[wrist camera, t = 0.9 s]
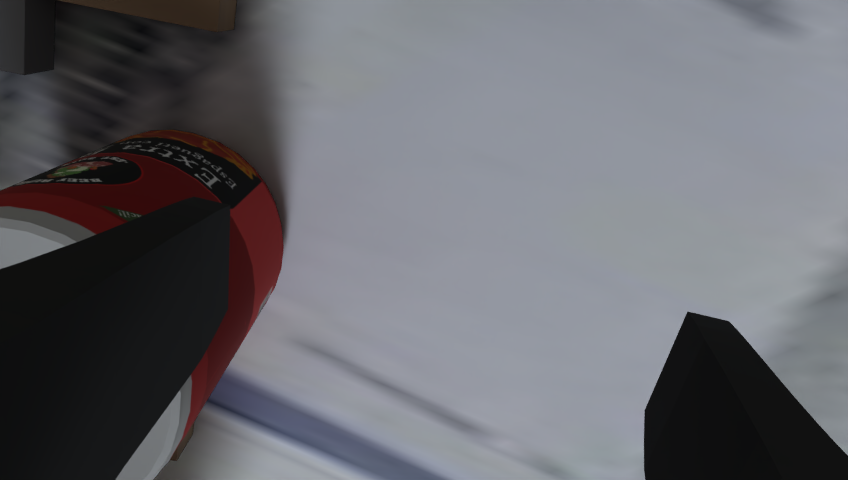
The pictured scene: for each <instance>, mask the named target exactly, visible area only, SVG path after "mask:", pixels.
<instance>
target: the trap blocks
mask: <svg viewBox="0 0 848 480" xmlns="http://www.w3.org/2000/svg"><path fill="white" fill-rule="evenodd" d="M54 32H55V0H0V70H1V71H6V72H12V73H17V74H22V75H27V74H32V73H37V72H43V71H48V70H53V69H54Z"/></svg>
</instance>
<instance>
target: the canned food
mask: <svg viewBox="0 0 848 480" xmlns="http://www.w3.org/2000/svg"><path fill="white" fill-rule="evenodd" d="M191 197H198V198H202V199H207V200H211V201H215V202H220V203H224V204H228V205H230V248H229V296H228V310H227V312H226V314H225V316H224V318H223V320H222V322H221V324H220V326H219V328H218V330H217V332H216V334H215V336H214V338H213V340H212V341H211V343H210V345H209V347H208V349H207V351H206V352H205V354H204V356H203V358H202V359H201V361H200V362H199V364H198V365H197V367H196V368H195V370H194V371H193V372H192V374H191V375H190V377H189V378H188V379H187V381H186V382H185V384H184V385H183V386H182V388H181V389H180V391H179V392H178V393H177V395H176V396H175V398H174V399H173V400H172V402H171V403H170V404H169V406H168V407H167V409H166V410H165V411H164V413H163V414H162V415H161V417H160V418H159V420H158V421H157V422H156V424H155V425H154V426H153V428H152V429H151V431H150V432H149V433H148V435H147V436H146V437H145V439H144V440H143V442H142V443H141V444H140V446H139V447H138V448H137V450H136V451H135V453H134V454H133V455H132V457H131V458H130V459H129V461H128V462H127V464H126V465H125V466H124V468H123V469H122V471H121V472H120V474H119V475H118V477H117V478H116V480H153V479H154V478H155V477H156V476H157V474H158V473H159V471H160V470H161V469H162V468H163V467H164V466H165V465H166V464H167V463H168V462H169V460H170V459H171V457H172V455H173V454H174V452H175V450H176V449H177V447H178V446H179V444H180V442H181V441H182V440H183V438H184V437H185V436H186V434H187V433H188V431H189V429H190V428H191V426H192V424H193V423H194V421H195V419H196V418H197V416H198V414H199V413H200V411H201V409H202V408H203V406H204V404H205V403H206V401H207V400H208V398H209V396H210V395H211V393H212V391H213V390H214V388H215V386H216V385H217V383H218V381H219V380H220V378H221V376H222V375H223V373H224V371H225V370H226V368H227V366H228V365H229V363H230V361H231V360H232V358H233V357H234V355H235V353H236V352H237V350H238V348H239V347H240V345H241V343H242V342H243V340H244V338H245V337H246V335H247V333H248V332H249V330H250V328H251V327H252V325H253V323H254V322H255V320H256V319H257V317H258V315H259V314H260V312H261V310H262V309H263V307H264V305H265V304H266V302H267V300H268V298H269V297H270V295H271V293H272V291H273V290H274V288H275V286H276V283H277V280H278V276H279V273H280V270H281V266H282V256H283V237H282V226H281V221H280V218H279V214H278V211H277V207H276V204H275V201H274V199H273V197H272V195H271V193H270V191H269V189H268V187H267V185H266V184H265V182H264V181H263V180H262V178H261V177H260V176H259V174H258V173H257V172H256V171H255V169H254V168H253V167H252V166H251V165H250V164H249V163H248V162H247V161H245V160H244V159H243V158H242V157H241V156H240V155H239V154H238V153H236V152H234V151H233V150H231V149H229V148H228V147H226V146H224V145H223V144H221V143H219V142H216V141H214V140H211V139H208V138H206V137H203V136H200V135H197V134H195V133H189V132H183V131H177V130H156V131H148V132H144V133H140V134H136V135H133V136H129V137H127V138H125V139H122V140H120V141H117V142H115V143H113V144H110V145H108V146H106V147H103V148H101V149H98V150H96V151H94V152H91V153H89V154H87V155H84V156H82V157H79V158H77V159H75V160H72V161H70V162H68V163H65V164H63V165H60V166H58V167H56V168H53V169H51V170H49V171H46V172H44V173H41V174H39V175H37V176H34V177H32V178H30V179H27V180H25V181H22V182H20V183H18V184H15V185H13V186H11V187H8V188H6V189H4V190H1V191H0V269H2V268H5V267H8V266H11V265H14V264H17V263H20V262H23V261H26V260H28V259H31V258H34V257H37V256H40V255H42V254H45V253H48V252H51V251H53V250H56V249H59V248H62V247H65V246H67V245H70V244H73V243H76V242H79V241H81V240H84V239H86V238H89V237H91V236H94V235H96V234H99V233H101V232H104V231H106V230H109V229H111V228H114V227H116V226H119V225H121V224H123V223H126V222H128V221H131V220H133V219H136V218H138V217H141V216H143V215H145V214H148V213H150V212H153V211H155V210H158V209H160V208H163V207H165V206H168V205H170V204H173V203H176V202H178V201H181V200H184V199H187V198H191Z"/></svg>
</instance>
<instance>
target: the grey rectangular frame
mask: <svg viewBox="0 0 848 480" xmlns="http://www.w3.org/2000/svg"><path fill="white" fill-rule="evenodd" d="M58 1H63V2H68V3H73V4H79V5H84V6H89V7H94V8H99V9H104V10H109V11H114V12H119V13H124V14H129V15H134V16H139V17H144V18H149V19H154V20H159V21H164V22H169V23H174V24H179V25H184V26H189V27H194V28H199V29H204V30H209V31H214V32H222V31H228V30H234V24H235V14H236V4H237V0H58ZM193 426H194V423H193V424H192V426H191V428H190V429H189V431H188V433H187V434H186V436H185V437H184V438H183V440H182V441H181V442H180V444H179V446H178V447H177V449H176V450H175V452H174V454H173V455H172V457H171V459H170V460H174V461H177V459H178V458H179V456H180V454H181V453H182V451H183V449H184V448H185V446H186V444H187V443H188V441H189V439H190V438H191V436H192V434H193Z"/></svg>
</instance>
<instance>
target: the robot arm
mask: <svg viewBox="0 0 848 480" xmlns="http://www.w3.org/2000/svg"><path fill="white" fill-rule="evenodd" d="M229 248H230V205H228V204H224V203H220V202H215V201H211V200H207V199H202V198H198V197H191V198H187V199H184V200H181V201H178V202H176V203H173V204H170V205H168V206H165V207H163V208H160V209H158V210H155V211H153V212H150V213H148V214H145V215H143V216H141V217H138V218H136V219H133V220H131V221H128V222H126V223H123V224H121V225H119V226H116V227H114V228H111V229H109V230H106V231H104V232H101V233H99V234H96V235H94V236H91V237H89V238H86V239H84V240H81V241H79V242H76V243H73V244H70V245H67V246H65V247H62V248H59V249H56V250H53V251H51V252H48V253H45V254H42V255H40V256H37V257H34V258H31V259H28V260H26V261H23V262H20V263H17V264H14V265H11V266H8V267H5V268H2V269H0V480H116V478H117V477H118V475H119V474H120V472H121V471H122V469H123V468H124V466H125V465H126V464H127V462H128V461H129V459H130V458H131V457H132V455H133V454H134V453H135V451H136V450H137V448H138V447H139V446H140V444H141V443H142V442H143V440H144V439H145V437H146V436H147V435H148V433H149V432H150V431H151V429H152V428H153V426H154V425H155V424H156V422H157V421H158V420H159V418H160V417H161V415H162V414H163V413H164V411H165V410H166V409H167V407H168V406H169V404H170V403H171V402H172V400H173V399H174V398H175V396H176V395H177V393H178V392H179V391H180V389H181V388H182V386H183V385H184V384H185V382H186V381H187V379H188V378H189V377H190V375H191V374H192V372H193V371H194V370H195V368H196V367H197V365H198V364H199V362H200V361H201V359H202V358H203V356H204V354H205V352H206V351H207V349H208V347H209V345H210V343H211V341H212V340H213V338H214V336H215V334H216V332H217V330H218V328H219V326H220V324H221V322H222V320H223V318H224V316H225V314H226V312H227V310H228V296H229ZM644 471H645V479H646V480H848V456H847V454H846V453H845V452H844V451H843V450H842V449H841V448H840V447H839V446H838V445H837V444H836V443H835V442H834V441H833V440H832V439H831V438H830V437H829V435H828V434H827V433H826V432H825V431H824V430H823V429H822V428H821V427H820V426H819V425H818V423H817V422H816V421H815V420H814V419H813V418H812V417H811V416H810V414H809V413H808V412H807V411H806V410H805V409H804V408H803V406H802V405H801V404H800V403H799V402H798V401H797V400H796V398H795V397H794V396H793V395H792V394H791V393H790V391H789V390H788V389H787V388H786V387H785V386H784V384H783V383H782V382H781V381H780V380H779V378H778V377H777V376H776V375H775V374H774V373H773V371H772V370H771V369H770V368H769V367H768V365H767V364H766V363H765V362H764V361H763V359H762V358H761V357H760V356H759V355H758V353H757V352H756V351H755V350H754V349H753V348H752V346H751V345H750V344H749V343H748V342H747V341H746V339H745V338H744V337H743V336H742V335H741V334H740V333H739V332H738V330H737V329H736V328H735V327H734V326H733V325H732V324H731V323H730V322H729V321H726V320H721V319H717V318H713V317H708V316H704V315H700V314H696V313H691V312H687V314H686V317H685V319H684V321H683V324H682V326H681V328H680V330H679V333H678V335H677V337H676V340H675V342H674V344H673V347H672V349H671V351H670V353H669V356H668V358H667V360H666V363H665V365H664V367H663V370H662V372H661V374H660V377H659V379H658V381H657V383H656V386H655V388H654V390H653V393H652V395H651V397H650V400H649V402H648V404H647V406H646V409H645V423H644Z"/></svg>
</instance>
